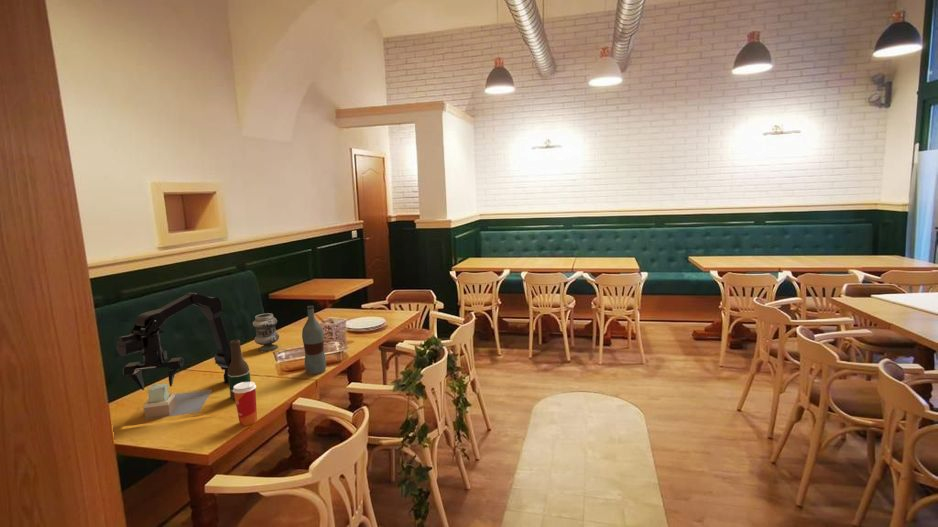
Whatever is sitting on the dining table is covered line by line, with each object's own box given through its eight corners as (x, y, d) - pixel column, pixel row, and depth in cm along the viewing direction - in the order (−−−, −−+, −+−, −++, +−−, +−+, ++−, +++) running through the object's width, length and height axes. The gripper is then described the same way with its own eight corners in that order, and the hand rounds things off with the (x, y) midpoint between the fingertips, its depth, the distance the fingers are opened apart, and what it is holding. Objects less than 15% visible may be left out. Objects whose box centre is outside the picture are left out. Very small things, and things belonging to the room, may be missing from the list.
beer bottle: (256, 395, 201) (250, 338, 197) (242, 404, 194) (235, 344, 190) (241, 393, 204) (234, 337, 200) (226, 401, 196) (219, 343, 193)
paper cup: (241, 418, 182) (236, 381, 180) (262, 416, 182) (258, 380, 180) (233, 428, 174) (228, 390, 172) (255, 426, 175) (251, 388, 172)
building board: (213, 391, 207) (211, 377, 206) (199, 414, 186) (197, 398, 185) (164, 397, 203) (162, 383, 202) (144, 422, 182) (142, 406, 181)
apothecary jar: (263, 344, 267) (259, 312, 264) (284, 344, 265) (281, 312, 263) (250, 352, 255) (246, 318, 252) (272, 352, 254) (269, 318, 251)
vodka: (330, 367, 229) (325, 304, 224) (320, 375, 220) (314, 309, 215) (312, 366, 231) (306, 303, 226) (301, 374, 222) (294, 308, 218)
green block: (169, 398, 190) (167, 383, 189) (165, 403, 185) (163, 388, 184) (154, 400, 188) (152, 385, 187) (150, 405, 184) (147, 390, 183)
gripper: (186, 338, 193) (191, 376, 196) (131, 343, 188) (137, 383, 191) (177, 347, 182) (182, 387, 185) (119, 353, 178) (125, 394, 180)
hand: (157, 387), depth 185 cm, fingers open, 9 cm apart
